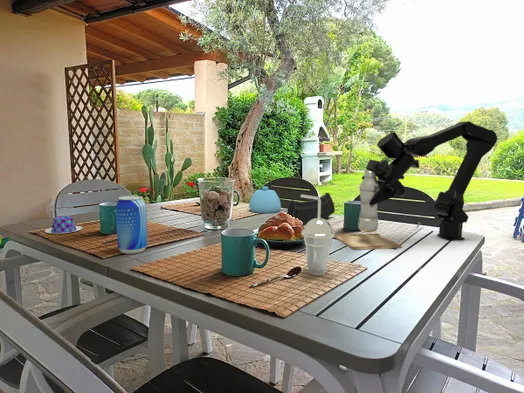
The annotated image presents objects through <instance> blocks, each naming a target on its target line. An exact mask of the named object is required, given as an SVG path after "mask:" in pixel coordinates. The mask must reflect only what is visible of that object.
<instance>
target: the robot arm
mask: <svg viewBox="0 0 524 393" xmlns="http://www.w3.org/2000/svg"><path fill="white" fill-rule="evenodd" d="M459 137H461V138H462V139H463V140H465V141H466V143H465V148H466V153H465V155H464V157H463V159H462V162H461V164H460V165H459V168H458V170H457V172H456V173H455V175H454V177H453V180H452V182H451V184H450V186H449V188H448V189H447V190H446V191H445V192H444V191H440V192H439V193H438V196H437V197H436V199H435V200H434V209H435V210H434V211H435V212H436V214H437V218H438V219H440V223H439V228H438V229H439V231H438V233H436V236H437V237H440V238H442V239H445V240H448V241H452V240H453V241H454V240H465V239H466V238H465V237H463V235H462V234H463V224H465V223H467V222H468V219H469V215H468V214H467V213H466V211H465V210H464V209H463V208H464V206H465V198H464V194H465V193H466V191H467V188H468V186H469V184H470V183H471V180H472V179H473V176H474V175H475V172H476V171H477V168H478V166H479V164H480V162H481V161H482V159H483V157H484V156H485V155H487V154H488V153H490V152H491V151H492V149H493V148H494V147H495V145H496V144H497V141H498V136H497V133H496V131H494V130H493V129H488V128H486V127H482V126H481V125H477V124H475V123H473V122H471V121H458V122H456V123H455V124H453V125H451V126H448V127H446V128H444V129H442V130H439V131H436V132H434V133H431V134H430V135H424V136H417V137H413V138H412V137H411V138H408V139H407V141H405V142H403V141H402V140H401V138H400V137H399V136H398V134H397V132H395V131H390V133H389V134H387V135H385V136H383V137H381V138H380V139H379V140H378V141H377V143H376V147H377V148H378V149H379V150H380V152H382V153H383V155H384V156H385V157H386V158H387V159H392V161H391V162H390V163H389V161H388V160H385V159H381V160H375V159H369V160H368V163H367V165H366V167H365V169H366V171H376V177H375V179H376V180H377V182H378V184H379V190H378V192H377V193H376V194H375V196H374V197H373V198H372V200H371V201H370V203H369V204H370V205H371V206H372V205H375V204H377V205H378V204H379V203H381V202H383V201H384V202H385V201H387V200H390V199H392V198H396V197H400V198H403V196H404V195H405V194H406V193H407V188H406V187H405V185H403V184H402V182H401V181H400V180H404V179H405V176H404V175H405V174H406V173H407V172H408V171H409V170H410V169H411V168H412V169H414V168H415V169H419V168H420V163H419V162H420V161H419V159H416V158H414V157H425V156H427V155H429V154H430V153H432V152H433V151H434V150H435V149H436V148H437V147H438V146H440V145H443V144H445V143H447V142H450V141H452V140H455V139H457V138H459ZM361 179H362V181H363V180H364V179H365V177H364V175H363V176H362V177H361ZM359 202H360V203H361V201H360V200H359Z"/></svg>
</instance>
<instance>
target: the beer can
mask: <svg viewBox="0 0 524 393" xmlns="http://www.w3.org/2000/svg"><path fill="white" fill-rule="evenodd" d="M143 198H144V197H143V196H140V195H127V196H126V195H125V196H119V197H118V201H117V203H116V204H115V218H116V219H115V221H116V238H117V241H116V242H117V249H118V250H119V252H120V253H122V254H128V255H130V254H131V255H133V254H139V253H142V252H144V251H145V250H146V248H147V247H148V224H147V204H146V202H145V200H144V199H143Z"/></svg>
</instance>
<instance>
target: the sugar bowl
mask: <svg viewBox="0 0 524 393" xmlns="http://www.w3.org/2000/svg"><path fill="white" fill-rule="evenodd" d="M248 208H249V209H250V211H251V212H253V213H256V212H257V214H274V213H277V212H279V211H280V209H281V208H282V204H281V200H280V198H279V195H278V194H277V192H276V191H275V190H273V189H269V186H262V187H261V189H257V190H255V191H254V193H253V194H252V196H251V197H250V200H249V204H248Z"/></svg>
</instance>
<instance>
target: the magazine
mask: <svg viewBox="0 0 524 393" xmlns="http://www.w3.org/2000/svg"><path fill="white" fill-rule="evenodd" d="M318 197H319V196H318ZM319 198H320V199H321V214H320V218H322V219H325V220H326V219H329V217H330V216H332V215H334V213H335V212H336V209H335V203H334V201H333V198H332V196H331V194H330V192H326V193H324V194H323V195H321V196H320V197H319ZM287 214H289V215H291V216H292V217H295V218H298V219H299V220H301V221H302V222H303V224H304V225H303V226H306V224H307V223H308V222H309V221H310V220H312V219H314V218H318V200H316V199H310V200H306V201H295V200H293V199H292V200H290V202H289V205H288V206H287V211H286V215H287Z"/></svg>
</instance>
